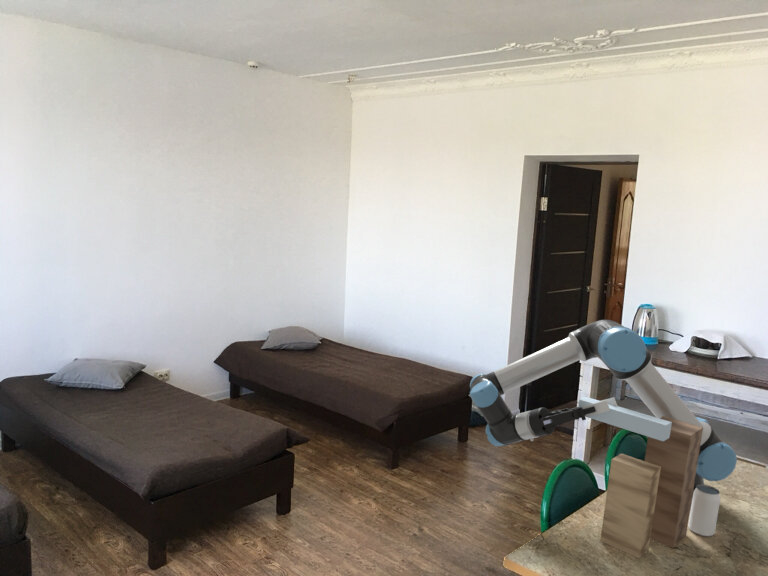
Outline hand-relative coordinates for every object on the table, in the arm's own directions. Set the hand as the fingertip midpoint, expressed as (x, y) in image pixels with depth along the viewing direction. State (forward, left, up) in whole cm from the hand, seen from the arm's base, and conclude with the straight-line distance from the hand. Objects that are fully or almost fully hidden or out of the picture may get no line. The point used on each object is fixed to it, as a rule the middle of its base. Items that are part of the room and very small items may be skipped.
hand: (611, 404), depth 158 cm
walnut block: (-14, +12, -35) cm, 40 cm away
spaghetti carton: (0, +3, -5) cm, 6 cm away
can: (-25, +19, -35) cm, 47 cm away
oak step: (0, +8, -35) cm, 36 cm away
